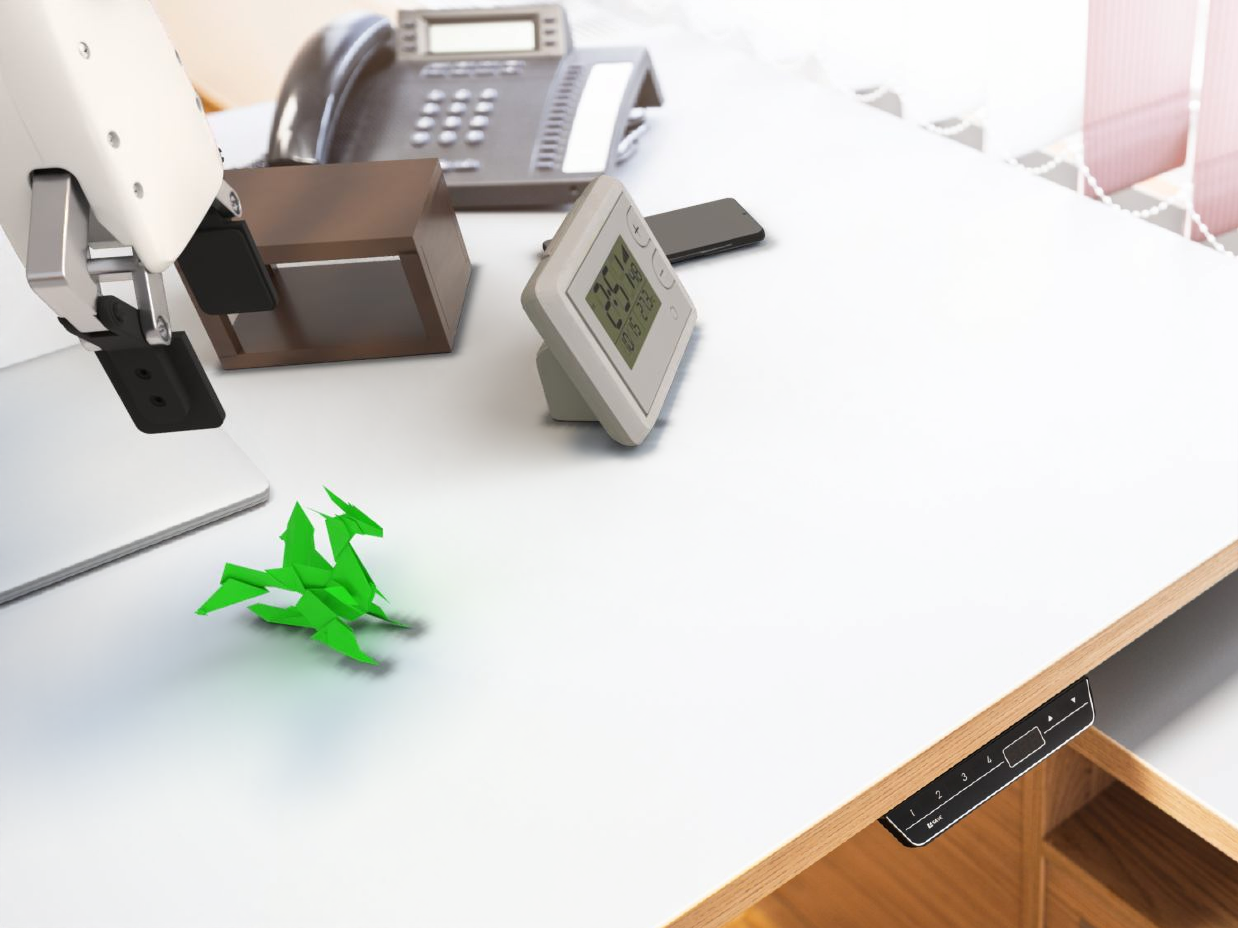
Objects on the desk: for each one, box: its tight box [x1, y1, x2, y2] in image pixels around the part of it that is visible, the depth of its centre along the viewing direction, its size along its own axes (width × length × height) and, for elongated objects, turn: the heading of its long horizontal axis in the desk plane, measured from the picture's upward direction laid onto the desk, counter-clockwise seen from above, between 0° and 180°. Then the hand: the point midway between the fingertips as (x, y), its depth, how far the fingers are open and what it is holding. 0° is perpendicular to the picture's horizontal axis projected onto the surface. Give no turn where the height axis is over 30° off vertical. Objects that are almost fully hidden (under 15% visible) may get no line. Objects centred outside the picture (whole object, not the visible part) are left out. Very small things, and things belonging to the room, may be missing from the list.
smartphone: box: [542, 197, 766, 264], centre depth 98 cm, size 7×1×15 cm
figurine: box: [193, 485, 412, 666], centre depth 65 cm, size 6×12×9 cm, turn 75°
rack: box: [173, 157, 473, 370], centre depth 88 cm, size 14×12×8 cm
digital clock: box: [520, 174, 698, 447], centre depth 81 cm, size 16×9×11 cm, turn 168°
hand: (215, 365), depth 57 cm, fingers open, 9 cm apart
